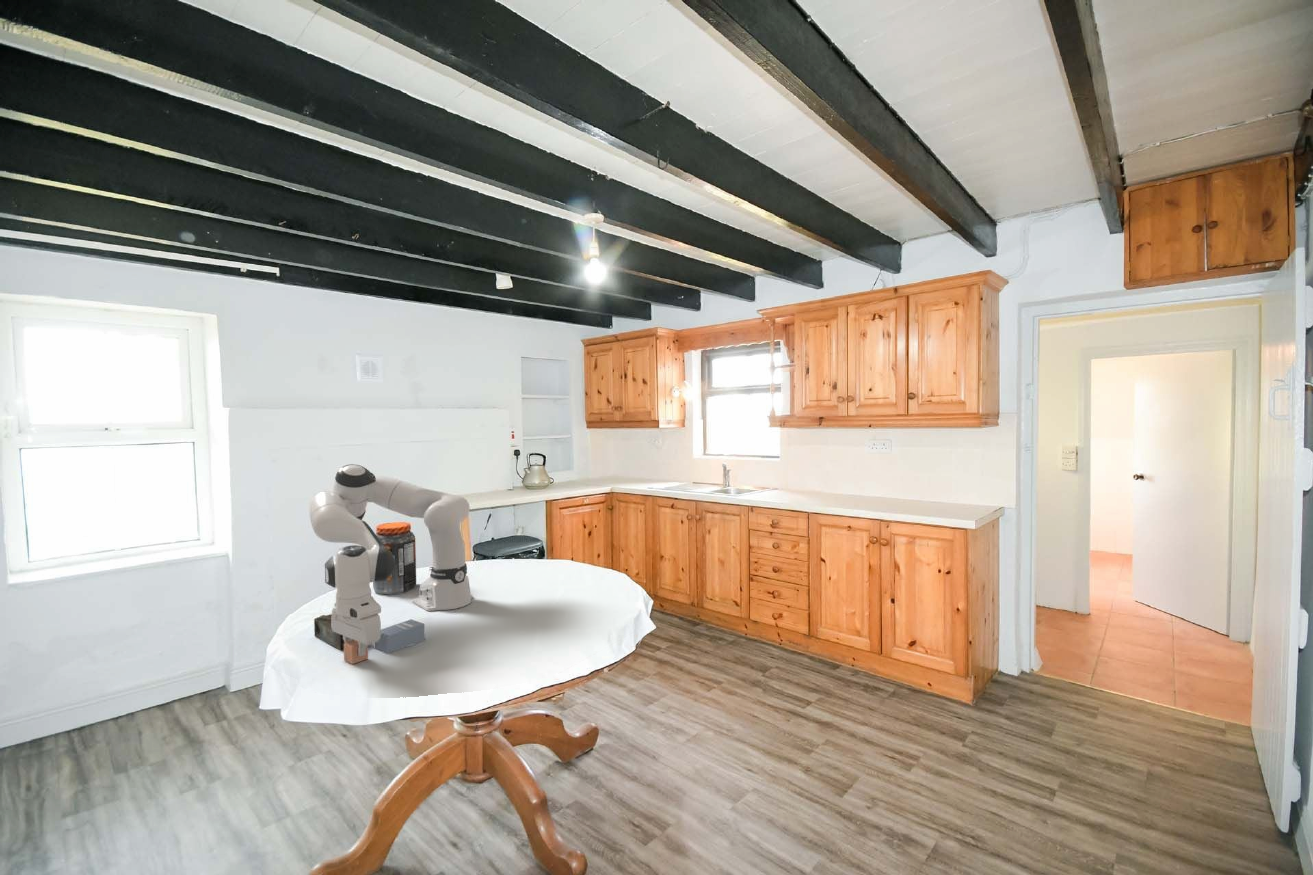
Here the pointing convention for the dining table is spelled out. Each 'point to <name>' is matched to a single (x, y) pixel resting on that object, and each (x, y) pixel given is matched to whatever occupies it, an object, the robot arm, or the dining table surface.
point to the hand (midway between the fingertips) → (355, 652)
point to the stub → (353, 652)
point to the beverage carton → (327, 632)
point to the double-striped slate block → (400, 636)
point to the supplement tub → (398, 557)
